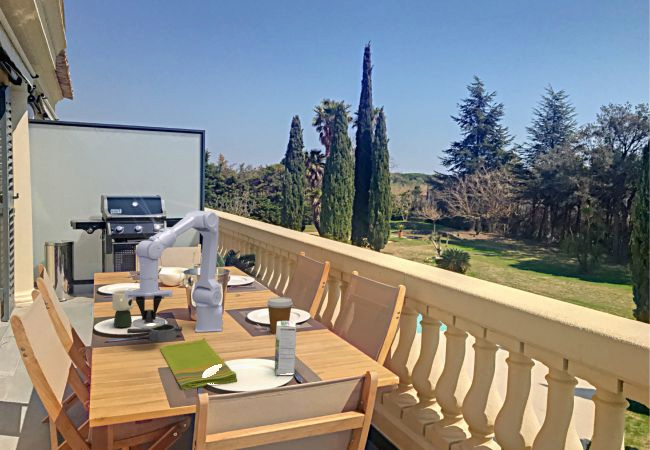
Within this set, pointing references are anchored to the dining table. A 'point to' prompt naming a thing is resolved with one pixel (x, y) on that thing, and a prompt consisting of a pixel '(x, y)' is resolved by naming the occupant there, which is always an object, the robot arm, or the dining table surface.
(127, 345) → the dining table surface
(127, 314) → the character mug
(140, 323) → the lid
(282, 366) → the syrup box
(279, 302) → the disposable coffee cup
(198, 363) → the dish towel
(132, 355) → the dining table surface
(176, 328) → the cooker base
